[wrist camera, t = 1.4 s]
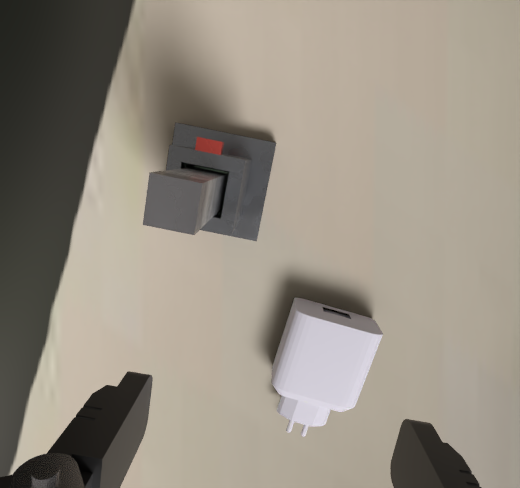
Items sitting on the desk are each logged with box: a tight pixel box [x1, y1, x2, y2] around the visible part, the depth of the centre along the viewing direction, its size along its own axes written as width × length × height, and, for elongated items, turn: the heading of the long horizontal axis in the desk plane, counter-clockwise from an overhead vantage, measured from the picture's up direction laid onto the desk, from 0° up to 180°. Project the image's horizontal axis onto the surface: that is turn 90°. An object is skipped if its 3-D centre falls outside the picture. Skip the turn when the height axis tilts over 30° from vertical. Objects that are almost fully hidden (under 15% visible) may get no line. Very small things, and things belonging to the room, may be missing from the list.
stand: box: [166, 123, 276, 241], centre depth 36 cm, size 10×10×10 cm
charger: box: [272, 298, 383, 436], centre depth 43 cm, size 5×9×15 cm
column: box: [143, 166, 229, 235], centre depth 30 cm, size 3×3×17 cm
